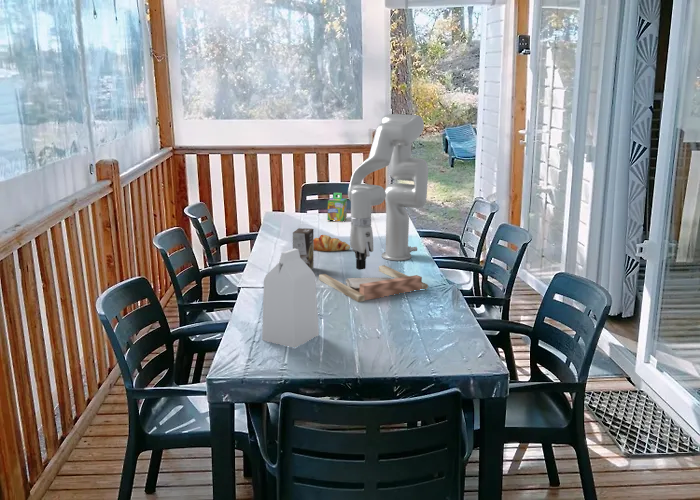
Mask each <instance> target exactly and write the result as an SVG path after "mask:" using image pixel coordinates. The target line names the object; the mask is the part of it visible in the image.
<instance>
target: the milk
mask: <svg viewBox="0 0 700 500" xmlns="http://www.w3.org/2000/svg"><path fill="white" fill-rule="evenodd" d="M317 294H318V293H317V281H316V274H315V272H314V271H313V269H312V270H311V269H310V268H309V267H308V265H307V264H306V263H305V262H304V261H303V260H302V259H301V258H300V254H299V250H298V249H295V248H294V249H293V248H291V249H289V250H285V251H282V252H281V255H280V258H279V261H278V262H277V264H276V265H275V266H274V267H273V268H272V269H271V270H270V271H268V273H267V274H266V275H265V276H264V279H263V294H262V295H263V297H262V299H263V300H262V301H263V302H262V329H261V330H262V331H261V332H262V333H261V335H262V337H261V341H264V342H267V341H268V342H269V343H271V342H272V344H275V343H276V345H278V344H280V345H279V346H282V345H285V346H284V347H286V346H289V347H294V348H295V347H297V346H299V345H301V344H302V345H305V344H306V343H308V342H310V341H312V340H313V339H312V338H314V337H315V338H317V337H319V336H320V329H319V312H318V310H319V309H318V296H317ZM318 335H319V336H318ZM316 336H317V337H316ZM315 338H314V339H315ZM311 339H312V340H311ZM309 340H310V341H309ZM307 341H308V342H307ZM268 342H267V343H268ZM305 342H306V343H305ZM302 345H301V346H302ZM289 347H288V348H289ZM299 347H300V346H299ZM297 348H298V347H297ZM295 349H296V348H295Z"/></svg>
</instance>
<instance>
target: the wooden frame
mask: <svg viewBox="0 0 700 500" xmlns="http://www.w3.org/2000/svg"><path fill="white" fill-rule="evenodd" d="M378 272H381V273H382V274H385V275H387V276H389V277H391V279H389V280H383V281H376V282H370V283H364V284H360V289H359V292H358V291H356V290H354V289H352V288H350V287H348V286H346V284H345V283H342V282H341V281H339V280H338V279H335V278H333V277H331V276H330V275H328V274H326V273H322V274H319V275H318V280H319V281H320V282H321V283H323V284H325V285H327V286H329V287H330V288H333V289H334V290H336V291H337V292H339V293H342V294H343V295H346V296H347V297H349V298H350V299H352V300H354V301H355V302H358V303H361V302H365V301H368V300H375V299H380V297H381V298H385V297H384V296H387V297H390V296H389V295H393V296H395V295H394V294H398V295H400V294H399V293H404V292H410V291H414V290H420V289H427V288H428V289H429V284H428V283H425V282H424V281H423V277H422V276H420V275H418V274H416V275H407V274H405V273H402V272H400V271H399V270H396V269H394V268H391V267H390V266H387V265H385V264H383V265H379V266H378ZM393 277H394V278H393ZM410 293H411V292H410ZM404 294H405V293H404Z"/></svg>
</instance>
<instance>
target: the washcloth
mask: <svg viewBox="0 0 700 500" xmlns="http://www.w3.org/2000/svg"><path fill="white" fill-rule="evenodd" d="M389 279H392V277H391V278H390V277H348V278H346V279H345V280H344V281H345V283H346V284H345V285H346V286H348V287H350V288H352V289H354V290H356V291H358V292H359V289H360V284H364V283H370V282H376V281H383V280H389Z"/></svg>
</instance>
